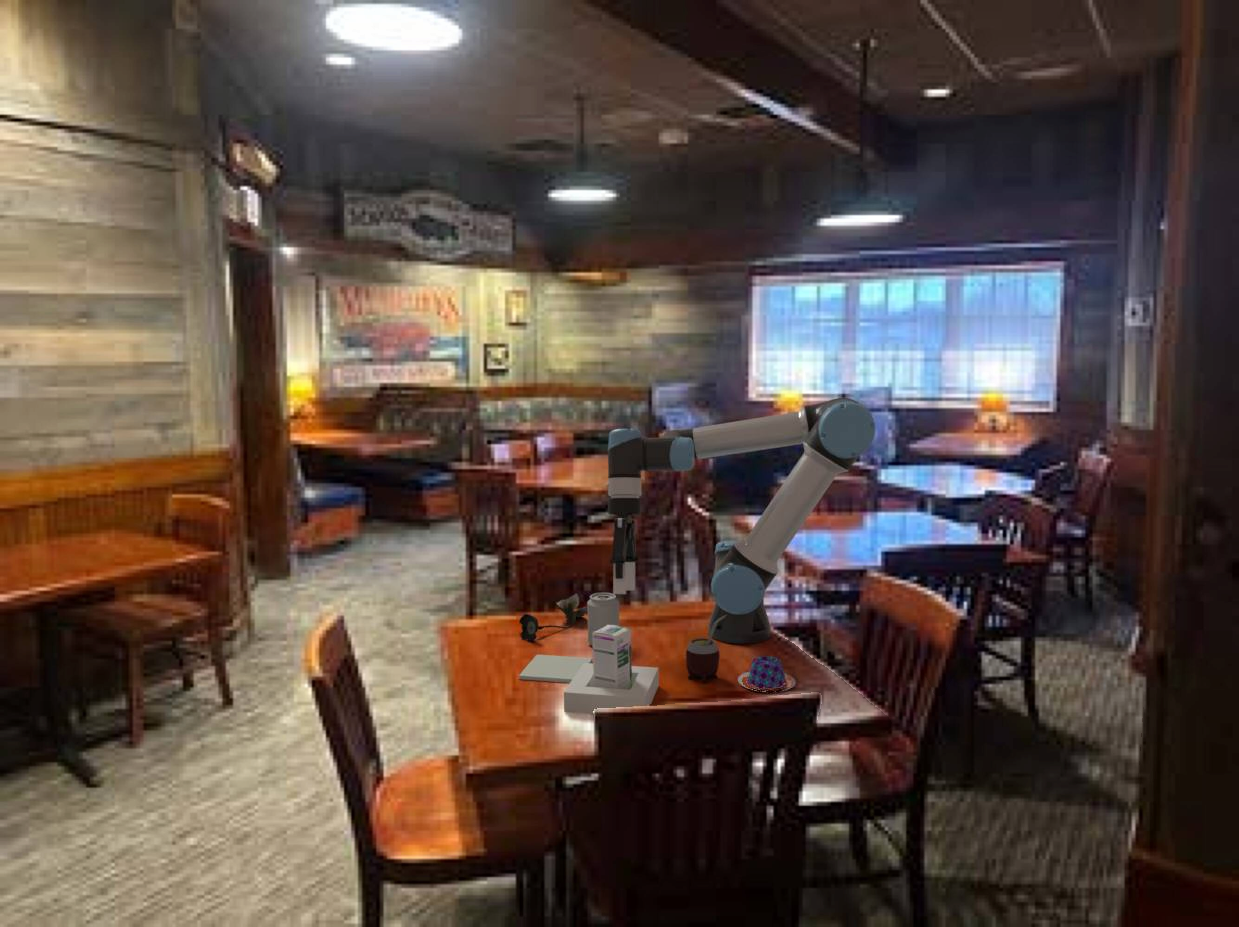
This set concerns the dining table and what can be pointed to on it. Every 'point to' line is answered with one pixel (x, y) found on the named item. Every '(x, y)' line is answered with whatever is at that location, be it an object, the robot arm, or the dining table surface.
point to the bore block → (609, 691)
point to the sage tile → (553, 668)
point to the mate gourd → (703, 657)
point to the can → (602, 612)
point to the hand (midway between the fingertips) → (624, 592)
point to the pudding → (766, 673)
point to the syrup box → (612, 657)
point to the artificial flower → (532, 626)
